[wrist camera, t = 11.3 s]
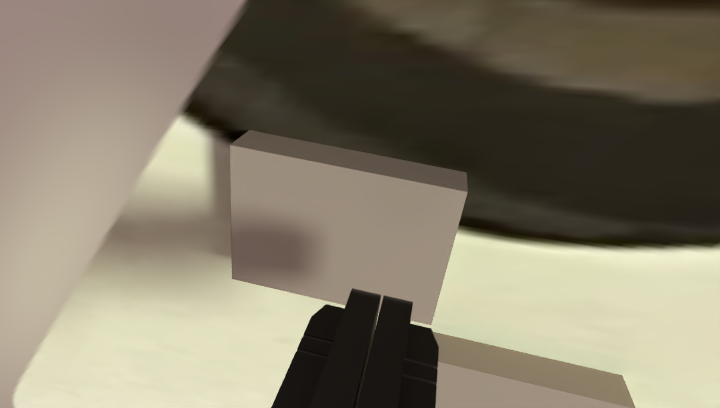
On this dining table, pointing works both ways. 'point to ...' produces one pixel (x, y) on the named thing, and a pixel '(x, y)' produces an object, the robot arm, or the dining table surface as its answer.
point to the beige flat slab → (341, 221)
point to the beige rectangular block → (519, 380)
